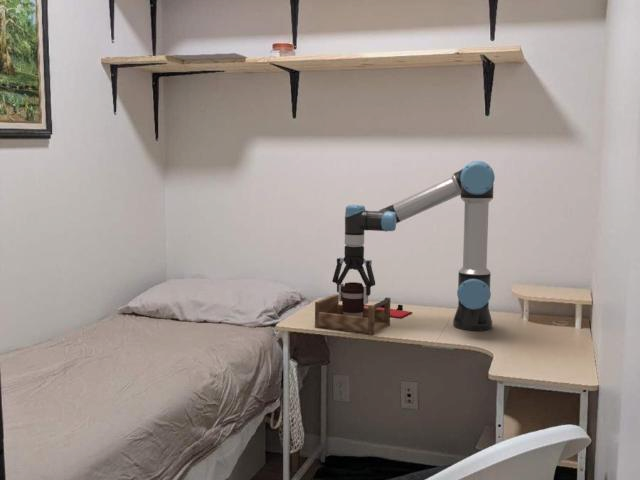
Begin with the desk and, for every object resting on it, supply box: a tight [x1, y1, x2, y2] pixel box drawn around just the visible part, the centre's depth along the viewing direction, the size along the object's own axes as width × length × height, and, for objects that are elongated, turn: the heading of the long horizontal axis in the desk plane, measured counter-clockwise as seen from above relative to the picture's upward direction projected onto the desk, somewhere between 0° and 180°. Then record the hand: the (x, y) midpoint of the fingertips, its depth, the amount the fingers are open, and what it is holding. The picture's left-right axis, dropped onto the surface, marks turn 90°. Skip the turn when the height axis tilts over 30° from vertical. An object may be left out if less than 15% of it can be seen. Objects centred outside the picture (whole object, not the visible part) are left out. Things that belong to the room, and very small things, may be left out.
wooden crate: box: [314, 293, 392, 336], centre depth 271 cm, size 24×18×11 cm
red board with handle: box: [364, 304, 413, 320], centre depth 299 cm, size 30×3×15 cm
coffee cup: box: [341, 281, 365, 317], centre depth 271 cm, size 10×10×15 cm
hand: (353, 302), depth 270 cm, fingers closed on coffee cup, 10 cm apart
